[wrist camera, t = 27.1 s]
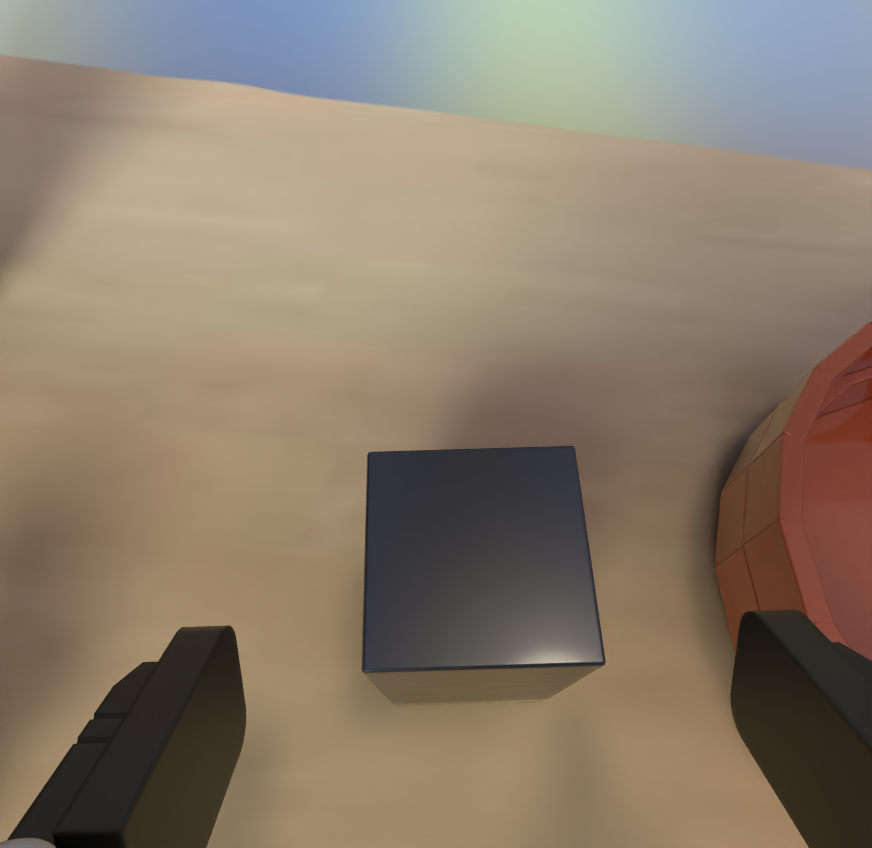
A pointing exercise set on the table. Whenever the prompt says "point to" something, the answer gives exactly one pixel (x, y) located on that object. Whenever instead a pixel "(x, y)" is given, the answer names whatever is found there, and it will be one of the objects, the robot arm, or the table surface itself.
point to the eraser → (477, 576)
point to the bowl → (806, 505)
